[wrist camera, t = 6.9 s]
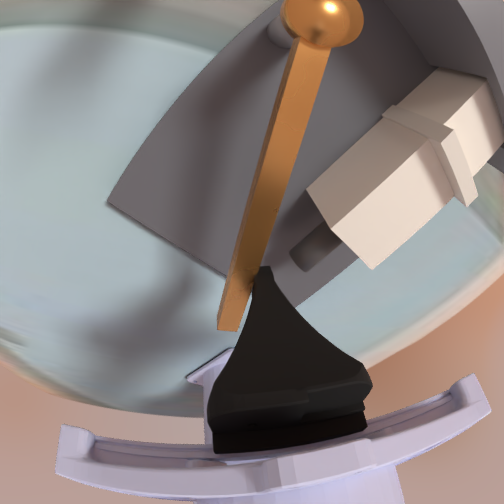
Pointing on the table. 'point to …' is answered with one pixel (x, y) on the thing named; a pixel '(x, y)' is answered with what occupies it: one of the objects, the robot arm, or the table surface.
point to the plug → (405, 169)
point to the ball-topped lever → (285, 136)
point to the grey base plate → (316, 133)
